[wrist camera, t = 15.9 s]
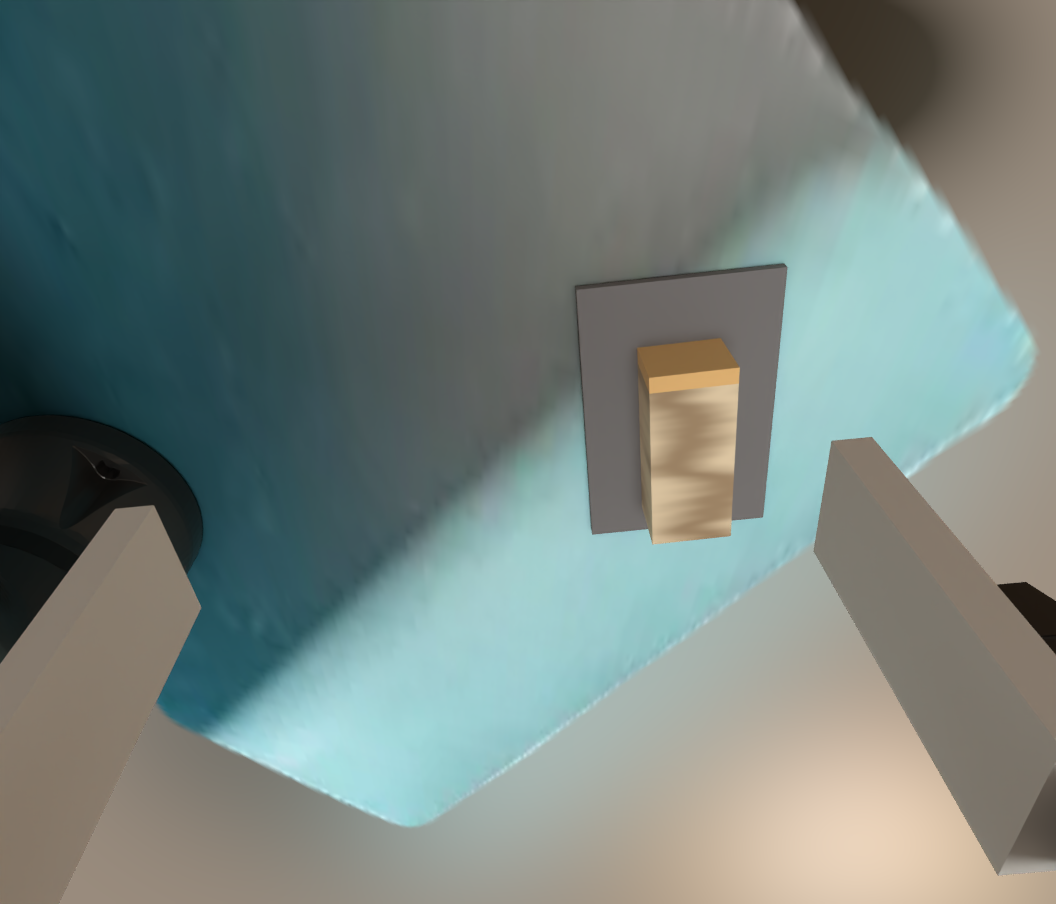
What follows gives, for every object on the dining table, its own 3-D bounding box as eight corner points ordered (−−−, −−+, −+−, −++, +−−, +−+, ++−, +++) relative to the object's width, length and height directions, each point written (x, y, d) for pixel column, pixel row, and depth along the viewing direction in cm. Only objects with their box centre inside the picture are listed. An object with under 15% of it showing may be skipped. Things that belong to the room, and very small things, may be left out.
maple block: (714, 499, 49) (720, 338, 43) (730, 535, 46) (739, 367, 39) (642, 506, 49) (637, 347, 43) (652, 544, 46) (648, 377, 40)
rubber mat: (591, 529, 51) (592, 534, 51) (575, 286, 41) (576, 289, 41) (760, 512, 51) (762, 517, 50) (783, 263, 41) (787, 267, 41)
